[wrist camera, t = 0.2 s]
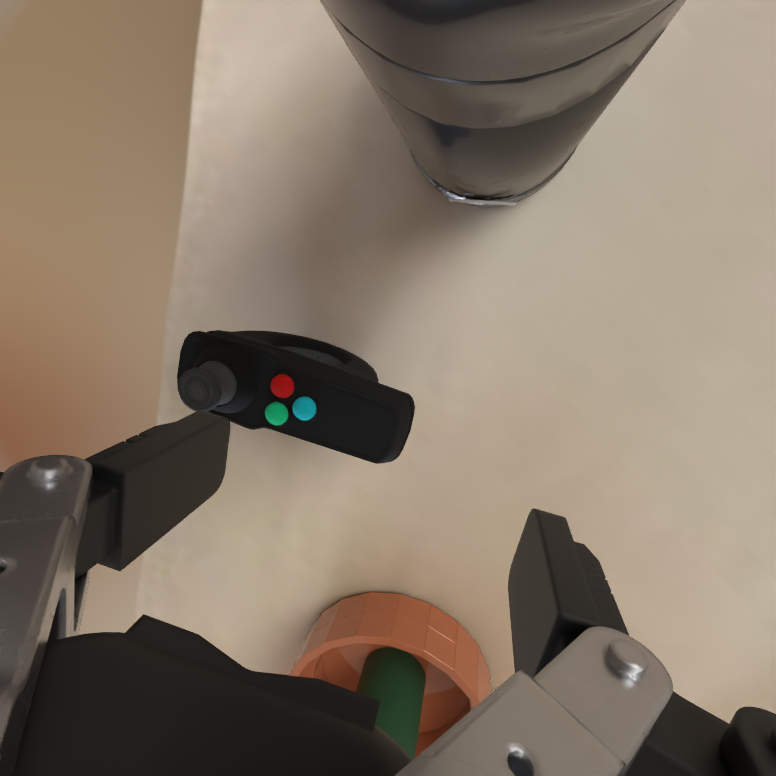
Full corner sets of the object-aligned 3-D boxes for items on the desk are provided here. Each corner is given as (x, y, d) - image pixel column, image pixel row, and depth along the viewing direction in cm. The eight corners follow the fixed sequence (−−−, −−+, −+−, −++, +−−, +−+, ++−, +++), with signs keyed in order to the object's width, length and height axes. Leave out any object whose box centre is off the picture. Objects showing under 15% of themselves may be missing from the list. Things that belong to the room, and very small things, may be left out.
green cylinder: (370, 638, 34) (320, 801, 23) (432, 659, 33) (409, 837, 23) (358, 685, 35) (306, 860, 25) (417, 707, 35) (389, 895, 24)
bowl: (324, 564, 33) (300, 607, 29) (514, 627, 32) (519, 683, 27) (295, 704, 38) (271, 759, 33) (462, 767, 36) (459, 834, 31)
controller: (255, 309, 30) (148, 327, 20) (435, 367, 28) (410, 416, 19) (244, 370, 31) (138, 414, 21) (415, 428, 29) (383, 503, 20)
